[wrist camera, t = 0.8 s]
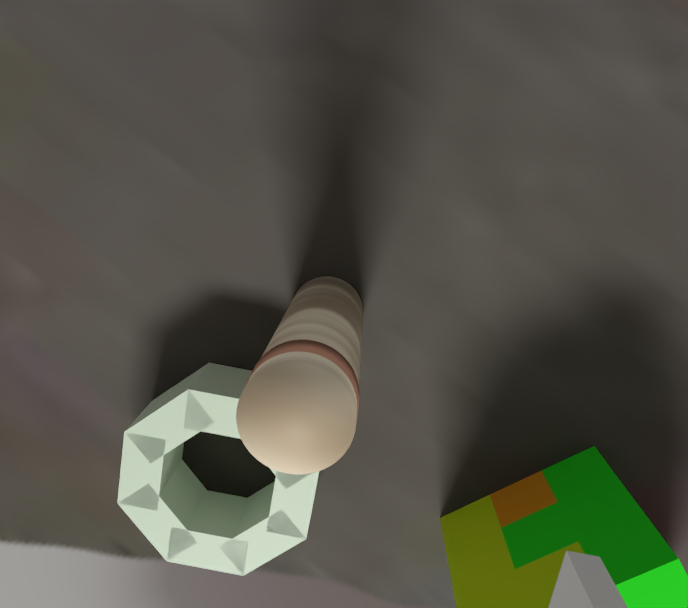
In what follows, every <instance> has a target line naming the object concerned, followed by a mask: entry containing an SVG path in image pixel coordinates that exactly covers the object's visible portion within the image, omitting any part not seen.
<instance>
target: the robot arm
mask: <svg viewBox="0 0 688 608" xmlns="http://www.w3.org/2000/svg"><path fill="white" fill-rule="evenodd" d="M548 608H628V607H627V605H626V604H625V602H624V600H623V598H622V596H621V594H620V593H619V591H618V589H617V587H616V585H615V584H614V582H613V580H612V578H611V576H610V575H609V573H608V571H607V569H606V567H605V566H604V564H603V562H602V560H601V558H600V557H598V556H593V555H587V554H582V553H576V552H571V551H566V553H565V556H564V559H563V563H562V566H561V569H560V572H559V575H558V579H557V582H556V585H555V588H554V591H553V595H552V598H551V601H550V604H549V607H548Z"/></svg>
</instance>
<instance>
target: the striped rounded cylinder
mask: <svg viewBox="0 0 688 608" xmlns="http://www.w3.org/2000/svg"><path fill="white" fill-rule="evenodd" d="M362 322H363V306H362V302H361V299H360V297H359V295H358V293H357V291H356V290H355V289H354V288H353V287H352V286H351V285H350V284H349V283H347V282H346V281H344V280H342V279H339V278H336V277H330V276H323V277H317V278H314V279H312V280H310V281H308V282H306V283H305V284H304V285H302V286H301V287H300V288H299V290H298V291H297V293H296V294H295V296H294V298H293V300H292V302H291V304H290V305H289V307H288V309H287V311H286V313H285V315H284V317H283V318H282V320H281V322H280V324H279V326H278V328H277V329H276V331H275V333H274V335H273V337H272V339H271V340H270V342H269V344H268V346H267V348H266V350H265V352H264V353H263V355H262V357H261V358H260V359H259V361H258V362H257V363H256V365H255V367H254V369H253V371H252V373H251V374H250V376H249V378H248V380H247V382H246V385H245V387H244V390H243V392H242V394H241V396H240V399H239V401H238V405H237V411H236V423H237V428H238V432H239V435H240V438H241V440H242V442H243V444H244V445H245V447H246V448H247V450H248V451H249V452H250V453H251V454H252V455H253V456H254V457H255V458H256V459H257V460H258V461H259V462H261V463H262V464H264V465H265V466H267V467H269V468H271V469H274V470H276V471H279V472H283V473H287V474H310V473H314V472H318V471H321V470H323V469H325V468H327V467H329V466H331V465H332V464H334V463H335V462H337V461H338V460H339V459H340V458H341V457H342V456H343V455H344V454H345V452H346V451H347V449H348V448H349V446H350V444H351V442H352V440H353V437H354V434H355V428H356V420H357V416H358V408H359V370H360V354H361V338H362Z"/></svg>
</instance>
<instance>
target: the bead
mask: <svg viewBox="0 0 688 608" xmlns="http://www.w3.org/2000/svg"><path fill="white" fill-rule="evenodd" d="M251 373H252V371H251V370H246V369H240V368H235V367H230V366H224V365H219V364H214V363H208V364H206V365H205V366H203V367H202V368H200V369H199V370H197V371H196V372H194V373H193V374H191V375H190V376H188V377H187V378H185V379H184V380H182V381H181V382H179V383H178V384H176V385H175V386H173V387H172V388H170V389H169V390H167V391H166V392H164V393H163V394H161V395H160V396H158V397H157V398H155V399H154V400H152V401H151V402H150V403H149V405H148V406H147V407H146V408H145V409H144V410H143V411H142V413H141V414H140V415H139V416H138V417H137V418H136V419H135V420H134V422H133V423H132V424H131V425H130V426H129V427H128V428H127V429H126V431H125V432H124V441H123V451H122V461H121V471H120V482H119V492H118V502H117V503H118V505H119V506H120V507H121V508H122V509H123V510H124V512H125V513H126V514H127V515H128V516H129V518H130V519H131V520H132V521H133V522H134V523H135V525H136V526H137V527H138V528H139V529H140V530H141V532H142V533H143V534H144V535H145V536H146V537H147V539H148V540H149V541H150V542H151V543H152V545H153V546H154V547H155V548H156V549H157V550H158V552H159V553H160V554H161V555H162V556H163V557H164V559H165V560H166V561H168V562H173V563H179V564H184V565H189V566H195V567H200V568H205V569H210V570H215V571H221V572H226V573H232V574H237V575H242V576H244V575H245V574H247V573H249V572H250V571H252V570H254V569H256V568H257V567H259V566H261V565H262V564H264V563H266V562H268V561H269V560H271V559H273V558H275V557H276V556H278V555H280V554H281V553H283V552H285V551H287V550H288V549H290V548H292V547H293V546H295V545H297V544H299V543H300V542H302V541H304V540H305V539H306V538H307V533H308V527H309V522H310V517H311V512H312V506H313V501H314V496H315V491H316V486H317V480H318V475H319V471H318V472H314V473H310V474H287V473H283V472H279V471H276V470H274V469H271V468H270V469H271V471H272V472H273V473H274V475H275V476H276V478H275V481H274V482H272V483H271V484H269V485H267V486H266V487H264V488H262V489H261V490H259V491H257V492H256V493H254V494H253V495H251V496H249V497H248V498H246V497H240V496H235V495H230V494H225V493H219V492H214V491H209V490H207V489H206V488H205V487H204V486H203V485H202V483H201V482H200V481H199V480H198V478H197V477H196V476H195V475H194V473H193V472H192V471H191V470H190V468H189V467H188V466H187V465H186V464H185V462H184V461H183V460H182V455H183V447H184V442H185V441H186V440H188V439H190V438H191V437H193V436H194V435H196V434H197V433H199V432H200V431H202V432H207V433H212V434H218V435H223V436H228V437H233V438H239V439H241V438H240V435H239V432H238V428H237V423H236V411H237V405H238V401H239V399H240V396H241V394H242V392H243V390H244V387H245V385H246V382H247V380H248V378H249V376H250V374H251Z"/></svg>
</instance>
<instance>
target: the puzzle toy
mask: <svg viewBox="0 0 688 608" xmlns="http://www.w3.org/2000/svg"><path fill="white" fill-rule="evenodd" d="M440 520H441V526H442V531H443V537H444V543H445V548H446V554H447V559H448V565H449V570H450V576H451V581H452V587H453V592H454V598H455V604H456V608H548V607H549V604H550V601H551V598H552V595H553V591H554V588H555V585H556V582H557V579H558V575H559V572H560V569H561V566H562V563H563V559H564V556H565V553H566V551H571V552H576V553H582V554H587V555H593V556H598V557H600V558H601V560H602V562H603V564H604V566H605V567H606V569H607V571H608V573H609V575H610V576H611V578H612V580H613V582H614V584H615V585H616V587H617V589H618V591H619V593H620V594H621V596H622V598H623V600H624V602H625V604H626V605H627V607H628V608H688V576H687V574H686V572H685V570H684V568H683V566H682V564H681V562H680V560H679V559H678V557H677V556H676V554H675V553H674V552H673V550H672V549H671V548H670V546H669V545H668V544H667V542H666V541H665V540H664V538H663V537H662V536H661V534H660V533H659V532H658V530H657V529H656V528H655V526H654V525H653V524H652V522H651V521H650V520H649V518H648V517H647V516H646V514H645V513H644V512H643V510H642V509H641V508H640V506H639V505H638V504H637V502H636V501H635V500H634V498H633V497H632V496H631V494H630V493H629V492H628V490H627V489H626V488H625V486H624V485H623V484H622V482H621V481H620V480H619V478H618V477H617V476H616V474H615V473H614V472H613V470H612V469H611V468H610V466H609V465H608V463H607V462H606V461H605V459H604V458H603V457H602V455H601V454H600V453H599V451H598V450H597V449H596V447H595V446H593V447H591V448H589V449H586V450H584V451H582V452H580V453H578V454H576V455H574V456H571V457H569V458H567V459H565V460H563V461H561V462H559V463H556V464H554V465H552V466H550V467H548V468H546V469H544V470H541V471H539V472H537V473H535V474H533V475H531V476H529V477H526V478H524V479H522V480H520V481H518V482H516V483H514V484H511V485H509V486H507V487H505V488H503V489H501V490H499V491H496V492H494V493H492V494H490V495H488V496H486V497H484V498H481V499H479V500H477V501H475V502H473V503H471V504H468V505H466V506H464V507H462V508H460V509H458V510H456V511H453V512H451V513H449V514H447V515H445V516H443V517H441V518H440Z"/></svg>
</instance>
